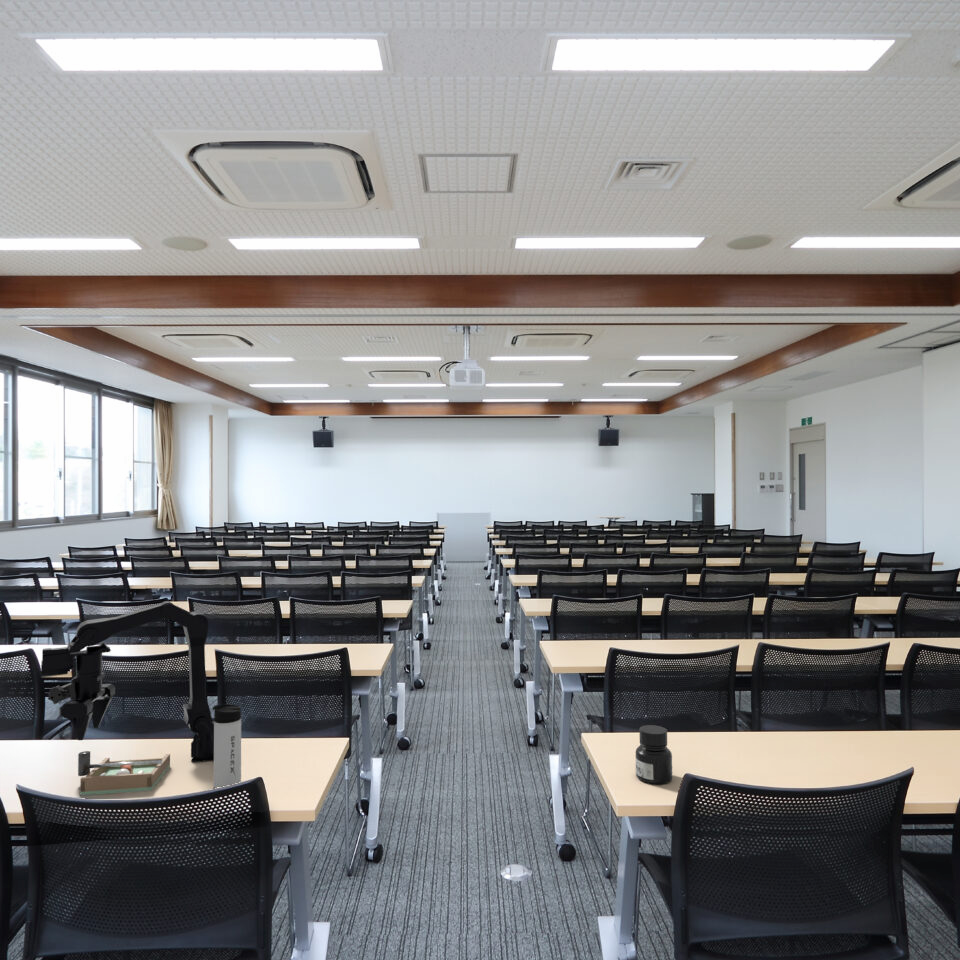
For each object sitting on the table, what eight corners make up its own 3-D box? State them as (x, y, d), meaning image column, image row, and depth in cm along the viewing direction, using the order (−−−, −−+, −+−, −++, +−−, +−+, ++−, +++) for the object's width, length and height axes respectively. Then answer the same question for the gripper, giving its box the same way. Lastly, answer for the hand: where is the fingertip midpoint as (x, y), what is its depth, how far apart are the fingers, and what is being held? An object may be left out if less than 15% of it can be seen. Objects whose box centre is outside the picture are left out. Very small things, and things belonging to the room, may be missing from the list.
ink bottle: (630, 770, 172) (630, 723, 173) (664, 769, 173) (663, 722, 173) (642, 786, 163) (642, 736, 163) (678, 785, 163) (677, 735, 164)
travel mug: (216, 783, 166) (217, 702, 167) (243, 782, 167) (244, 701, 168) (208, 794, 160) (209, 710, 161) (237, 793, 161) (237, 709, 161)
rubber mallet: (162, 772, 171) (163, 746, 171) (159, 776, 169) (159, 750, 169) (80, 777, 168) (81, 751, 168) (76, 781, 166) (76, 755, 166)
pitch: (170, 766, 178) (170, 751, 178) (151, 790, 163) (151, 773, 163) (105, 770, 175) (105, 755, 175) (80, 795, 160) (80, 778, 161)
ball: (129, 765, 166) (126, 778, 164) (132, 772, 168) (129, 784, 166) (116, 766, 166) (112, 779, 163) (119, 773, 168) (115, 785, 165)
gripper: (71, 664, 177) (70, 723, 177) (35, 682, 159) (35, 749, 159) (116, 662, 179) (115, 721, 179) (86, 680, 161) (86, 746, 160)
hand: (88, 733), depth 169 cm, fingers open, 9 cm apart
